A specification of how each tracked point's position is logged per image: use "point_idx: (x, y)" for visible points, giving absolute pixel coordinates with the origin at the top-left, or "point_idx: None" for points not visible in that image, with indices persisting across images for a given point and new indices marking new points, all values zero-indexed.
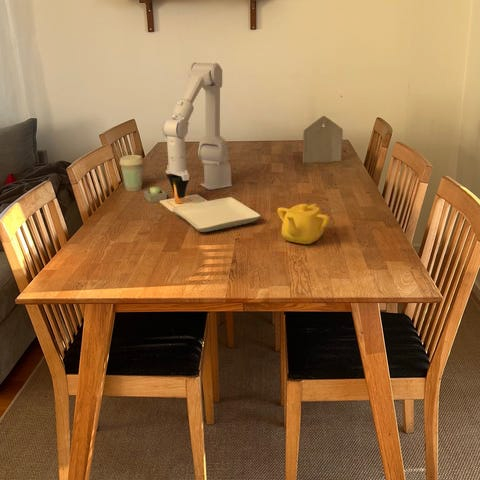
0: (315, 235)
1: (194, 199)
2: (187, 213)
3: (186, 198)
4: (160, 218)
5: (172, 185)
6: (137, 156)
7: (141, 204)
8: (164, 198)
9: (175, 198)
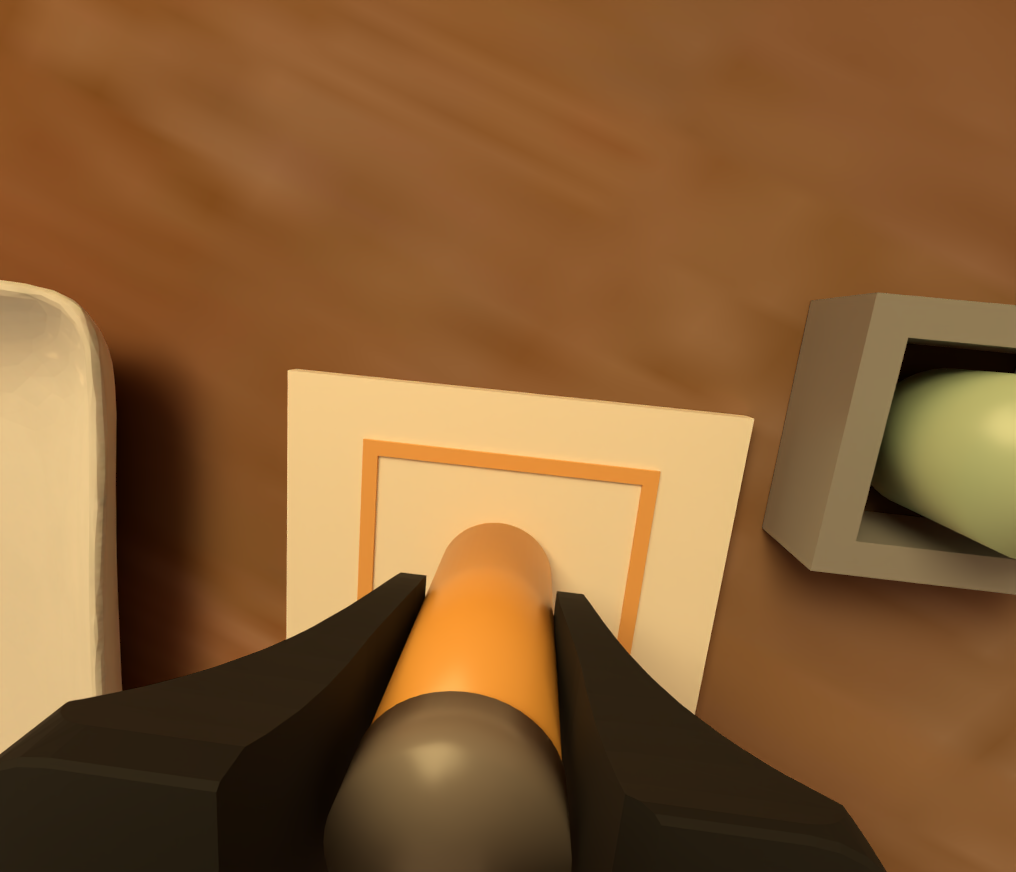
0: None
1: None
2: (71, 453)
3: None
4: (162, 138)
5: (583, 676)
6: None
7: (836, 161)
8: (780, 507)
9: (480, 549)
